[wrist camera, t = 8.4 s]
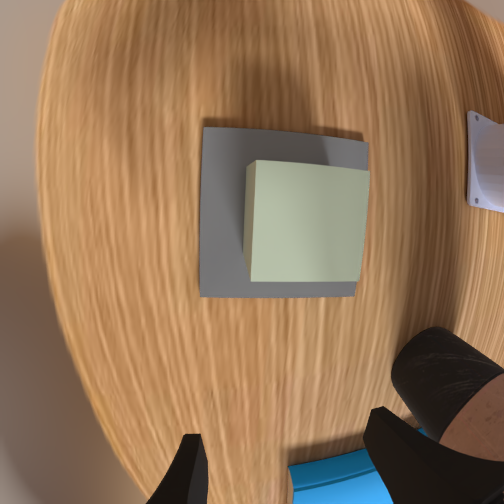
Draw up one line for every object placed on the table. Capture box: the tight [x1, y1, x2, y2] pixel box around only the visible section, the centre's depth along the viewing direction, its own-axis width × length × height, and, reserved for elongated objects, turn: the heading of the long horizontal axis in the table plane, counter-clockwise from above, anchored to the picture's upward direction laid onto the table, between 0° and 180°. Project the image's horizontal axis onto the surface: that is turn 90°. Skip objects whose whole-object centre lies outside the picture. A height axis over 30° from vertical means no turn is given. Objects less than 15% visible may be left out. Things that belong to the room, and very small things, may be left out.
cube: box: [243, 160, 370, 282], centre depth 15 cm, size 5×5×5 cm
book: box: [287, 428, 428, 504], centre depth 25 cm, size 17×4×25 cm
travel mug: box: [391, 327, 504, 500], centre depth 12 cm, size 8×8×20 cm
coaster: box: [200, 127, 368, 298], centre depth 17 cm, size 10×10×1 cm
